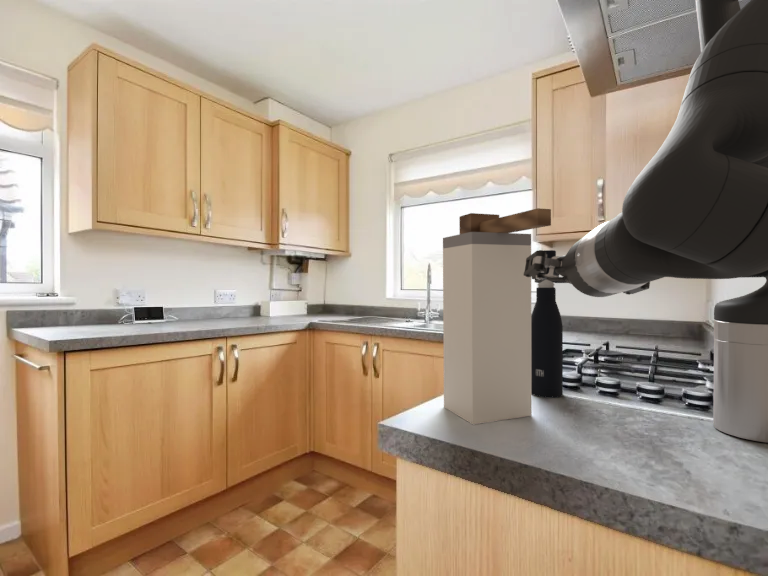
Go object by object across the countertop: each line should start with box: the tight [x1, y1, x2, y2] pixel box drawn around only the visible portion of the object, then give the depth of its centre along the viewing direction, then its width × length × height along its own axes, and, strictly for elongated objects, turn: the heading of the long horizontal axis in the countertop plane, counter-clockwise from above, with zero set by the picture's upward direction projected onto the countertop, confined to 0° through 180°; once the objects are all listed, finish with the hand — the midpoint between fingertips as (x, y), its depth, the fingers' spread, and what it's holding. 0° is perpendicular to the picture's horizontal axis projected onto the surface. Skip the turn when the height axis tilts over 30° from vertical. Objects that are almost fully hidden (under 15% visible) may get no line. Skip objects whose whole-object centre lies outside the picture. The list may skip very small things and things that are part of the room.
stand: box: [442, 232, 533, 425], centre depth 74 cm, size 10×12×32 cm
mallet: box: [458, 207, 552, 234], centre depth 68 cm, size 19×6×4 cm, turn 20°
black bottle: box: [531, 249, 564, 399], centre depth 85 cm, size 6×6×30 cm
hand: (567, 281), depth 60 cm, fingers open, 8 cm apart
